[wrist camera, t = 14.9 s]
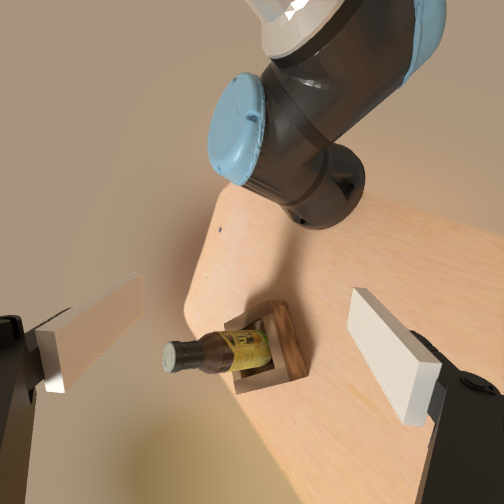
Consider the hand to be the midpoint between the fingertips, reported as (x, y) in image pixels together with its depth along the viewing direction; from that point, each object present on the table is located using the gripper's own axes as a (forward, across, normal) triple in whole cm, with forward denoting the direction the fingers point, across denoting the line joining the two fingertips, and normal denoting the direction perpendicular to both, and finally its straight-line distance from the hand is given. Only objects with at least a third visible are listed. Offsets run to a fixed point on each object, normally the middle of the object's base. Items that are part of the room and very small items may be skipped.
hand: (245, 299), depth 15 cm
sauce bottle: (+27, +3, -22) cm, 35 cm away
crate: (+27, +4, -22) cm, 36 cm away
